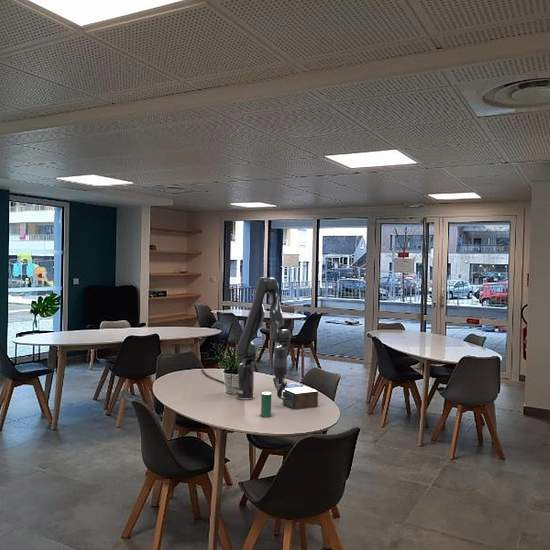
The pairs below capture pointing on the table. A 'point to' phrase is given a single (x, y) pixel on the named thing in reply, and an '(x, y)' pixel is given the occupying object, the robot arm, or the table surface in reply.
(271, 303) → the robot arm
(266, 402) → the can
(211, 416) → the table surface
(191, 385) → the table surface
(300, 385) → the hippopotamus toy
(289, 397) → the drawer
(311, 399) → the cabinet
